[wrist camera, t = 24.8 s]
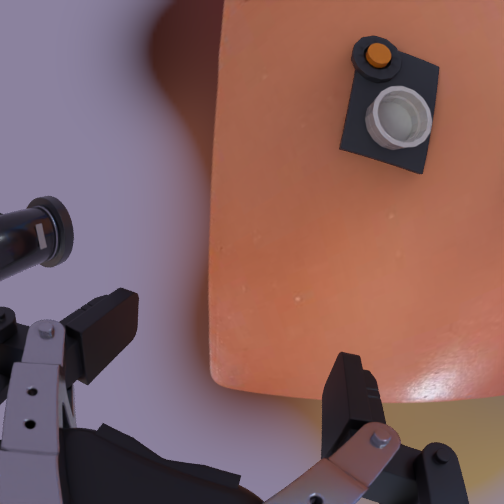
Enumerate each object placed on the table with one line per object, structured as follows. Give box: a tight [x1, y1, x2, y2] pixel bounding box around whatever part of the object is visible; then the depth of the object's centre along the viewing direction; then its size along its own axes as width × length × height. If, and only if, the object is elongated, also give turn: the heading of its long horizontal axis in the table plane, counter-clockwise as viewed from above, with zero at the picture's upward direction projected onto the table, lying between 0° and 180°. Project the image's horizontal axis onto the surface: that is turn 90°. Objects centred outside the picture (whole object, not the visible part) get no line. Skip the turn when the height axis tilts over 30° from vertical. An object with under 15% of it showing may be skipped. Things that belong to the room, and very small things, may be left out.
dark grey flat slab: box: [339, 36, 439, 174], centre depth 29 cm, size 11×14×3 cm
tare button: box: [366, 43, 391, 68], centre depth 26 cm, size 3×3×2 cm
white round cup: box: [365, 86, 432, 150], centre depth 27 cm, size 6×6×5 cm
